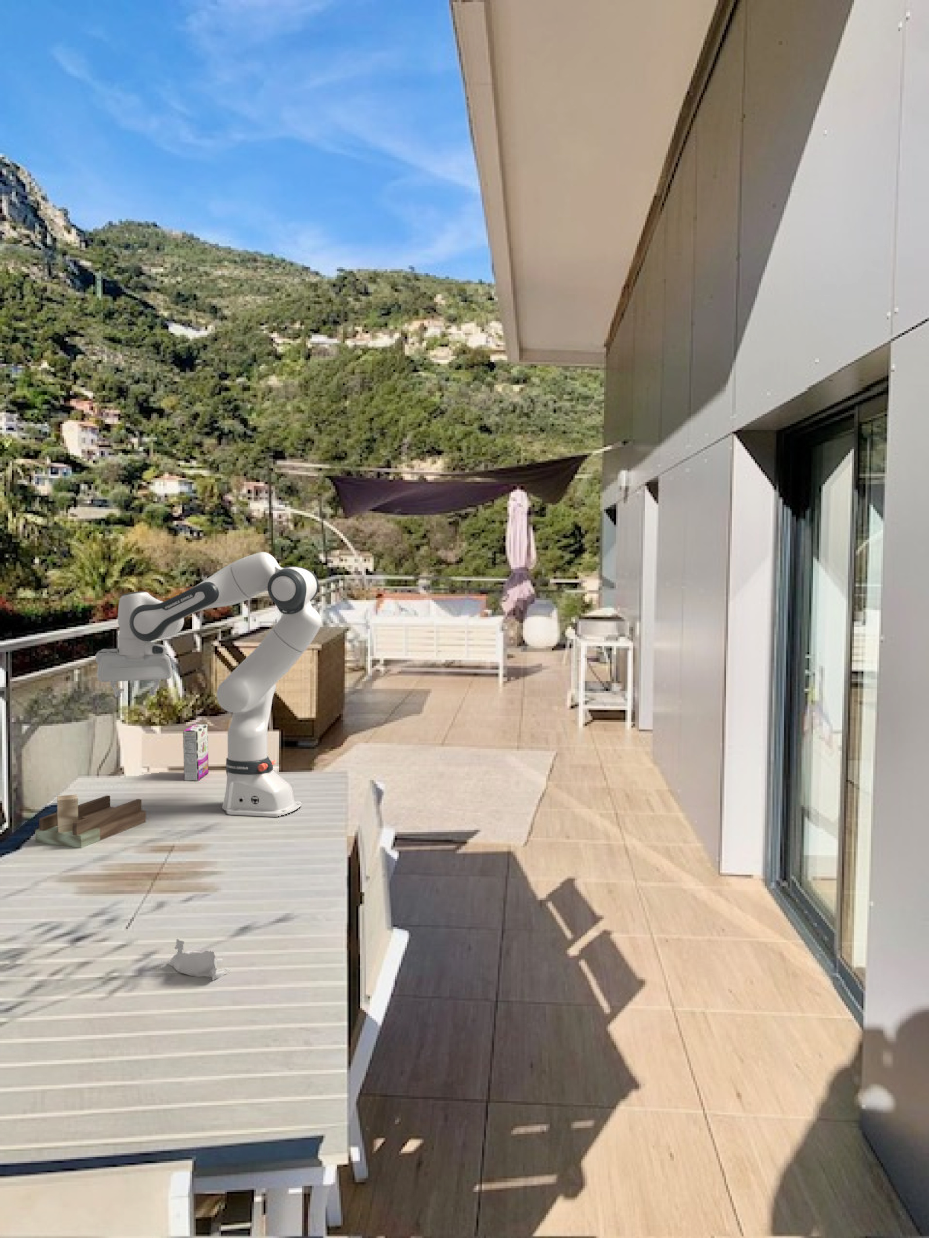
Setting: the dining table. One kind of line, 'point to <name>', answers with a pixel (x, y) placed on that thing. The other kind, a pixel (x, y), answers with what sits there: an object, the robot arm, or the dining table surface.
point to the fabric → (196, 962)
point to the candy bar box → (195, 752)
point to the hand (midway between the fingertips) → (135, 696)
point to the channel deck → (92, 823)
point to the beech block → (67, 812)
